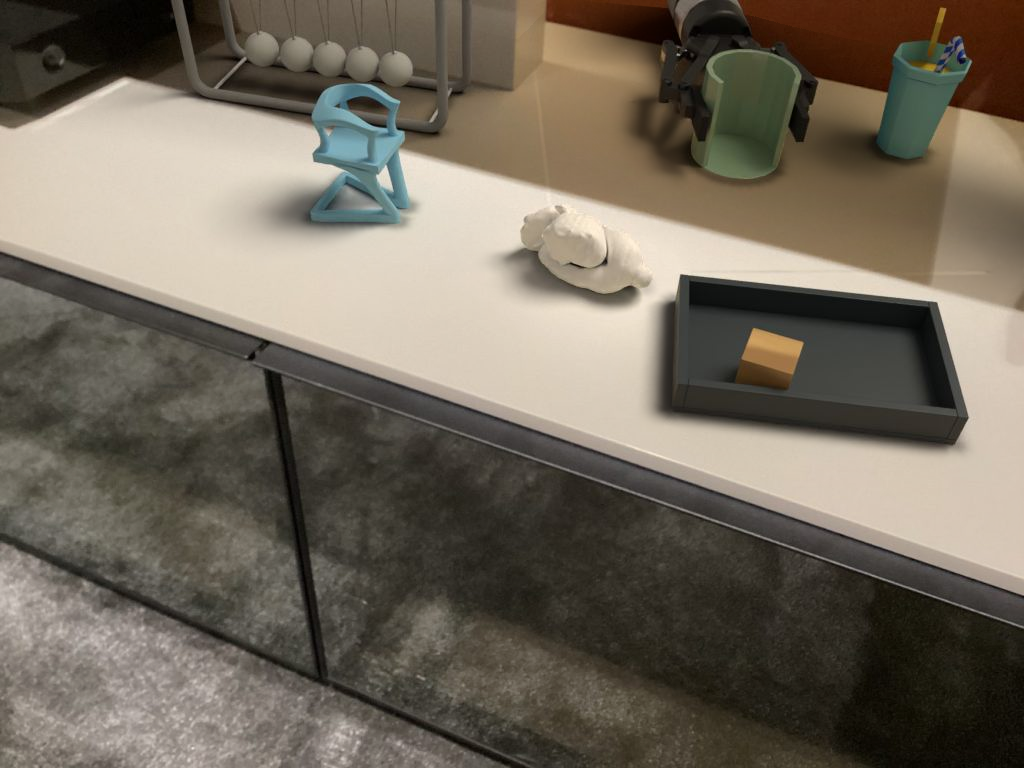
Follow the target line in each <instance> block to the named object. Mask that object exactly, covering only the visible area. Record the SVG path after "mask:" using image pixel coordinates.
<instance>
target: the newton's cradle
mask: <svg viewBox="0 0 1024 768" xmlns="http://www.w3.org/2000/svg"><path fill="white" fill-rule="evenodd" d="M261 1H262V0H258V7H259V27H260V29H259V27H258V23H257V19H256V15H255V10H254V6H253V2H252V0H249V3H250V8H251V12H252V16H253V20H254V24H255V28H256V32H253V33H252V34H250V35H249V36H248V37H247V38H246V40H245V43H244V49H243V48H241V46H240V45H239V44H238V42H237V39H236V33H235V28H234V23H233V17H232V11H231V6H230V0H218V5H219V11H220V15H221V21H222V27H223V32H224V38H225V42H226V45H227V48H228V49H229V50H230V52H231V53H232V54H233V55H234V56H235V57H236V58H238V59H240V60H239V61H238V63H237V64H236V65H235V66H233V67H232V68H231V69H230V71H228V72H227V74H226V75H225V76H224V77H223V78H222V79H221V80H220V81H219V82H218V83H216V85H215V86H214V87H210V86H208V85H206V84H205V83H204V82H203V81H202V80H201V79H200V76H199V72H198V67H197V62H196V58H195V53H194V49H193V48H194V47H193V43H192V39H191V34H190V30H189V24H188V21H187V15H186V10H185V6H184V2H183V0H170V2H171V7H172V11H173V15H174V19H175V20H174V21H175V25H176V29H177V33H178V38H179V42H180V47H181V50H182V52H181V53H182V56H183V61H184V65H185V69H186V75H187V78H188V81H189V84H190V85H191V86H192V88H193V89H194V90H195V91H196V92H197V93H198V94H200V96H203V97H205V98H207V99H208V98H209V99H213V100H220V101H224V102H232V103H233V102H234V103H236V104H237V103H238V104H244V105H250V106H257V107H263V108H271V109H275V110H282V111H289V112H296V113H301V114H307V115H312V113H313V110H314V108H315V105H316V103H312V102H311V103H309V102H303V101H297V100H292V99H291V100H290V99H285V98H278V97H272V96H265V95H258V94H253V93H248V92H247V93H246V92H240V91H233V90H228V89H221V87H222V85H224V83H225V82H226V81H227V80H228V79H229V78H231V76H232V75H233V74H234V73H235V72H236V71H237V70H238V69H239V68H240V67H241V66H243V64H244V63H245V62H250V63H252V64H253V65H255V66H256V67H259V68H267V67H270V66H274V67H282V68H286V69H287V70H289V71H291V72H294V73H303V72H306V71H309V72H316V73H319V74H320V75H321V76H323V77H327V78H334V77H338V76H342V77H349V78H352V79H353V80H354V81H356V82H359V83H368V82H371V81H375V82H381V83H385V84H386V85H387V86H389V87H393V88H400V87H403V86H409V87H414V88H421V89H427V90H436V95H437V97H436V99H437V101H436V102H437V104H436V105H437V107H436V109H435V111H434V112H433V114H432V116H431V117H430V119H429V120H428V121H424V120H420V119H419V120H418V119H414V118H413V119H412V118H406V117H399V116H396V119H395V125H396V129H401V130H402V129H403V130H409V131H414V132H421V133H430V134H432V133H436V132H439V131H441V130H442V129H443V128H445V126H446V125H447V123H448V119H449V97H450V95H451V94H452V93H459V92H462V91H464V90H466V89H467V88H468V87H469V86H470V84H471V82H472V79H473V0H461V77H460V79H459V80H458V81H449V80H448V79H449V77H448V76H449V75H448V27H447V26H448V25H447V24H448V23H447V22H448V21H447V18H448V17H447V0H434V27H435V31H434V32H435V61H436V62H435V64H436V68H435V69H436V79H435V78H428V77H421V76H414V75H413V70H414V67H413V63H412V60H411V59H410V58H409V57H408V56H407V54H405V53H403V52H401V51H397V45H398V43H397V42H398V41H397V38H398V37H397V36H398V33H397V31H398V28H397V27H398V21H397V20H398V0H395V1H394V4H395V5H394V39H393V34H392V26H391V20H390V19H391V18H390V12H389V5H388V0H385V7H386V14H387V22H388V29H389V36H390V43H391V50H392V51H389V52H387V53H385V54H384V55H383V56H382V57H381V58H380V59H379V56H378V55H377V53H376V52H375V51H374V50H373V49H372V48H370V47H368V46H364V18H363V17H364V13H363V11H364V10H363V9H364V7H363V0H360V23H361V24H360V27H361V28H360V30H361V31H360V33H361V35H359V31H358V24H357V19H356V12H355V6H354V1H353V0H350V3H351V10H352V15H353V20H354V27H355V32H356V38H357V44H358V46H356V47H354V48H352V49H350V51H349V52H348V53H346V51H345V50H344V48H343V47H342V46H341V45H339V43H337V42H333V41H331V31H330V1H329V0H326V5H327V7H326V8H327V9H326V10H327V35H328V36H327V35H326V30H325V29H326V28H325V25H324V20H323V14H322V10H321V6H320V5H321V4H320V1H319V0H316V2H317V8H318V12H319V17H320V21H321V26H322V31H323V36H324V41H323V42H321V43H320V44H318V45H317V46H316V47H315V48H313V45H312V44H311V43H310V42H309V41H308V40H307V39H305V38H303V37H300V36H298V27H297V26H298V25H297V23H298V22H297V7H296V0H293V8H294V9H293V10H294V12H293V13H294V29H295V30H293V27H292V26H293V25H292V23H291V17H290V14H289V9H288V4H287V1H286V0H283V2H284V6H285V11H286V16H287V19H288V24H289V28H290V32H291V36H292V37H289V38H287V39H286V40H285V41H284V42H283V43H282V44H281V47H279V43H278V41H277V40H276V38H275V37H274V36H273V35H272V34H270V33H268V32H265V31H263V27H262V26H263V25H262V23H263V22H262V2H261ZM294 31H295V32H294ZM294 33H295V35H294ZM359 36H361V42H360V37H359ZM393 40H394V41H393ZM349 112H351V113H352V114H354V115H356V116H357V117H359V118H360V119H362V120H363V121H365V122H366V123H368V124H370V125H376V126H382V127H387V119H388V116H389V115H388V114H380V113H375V112H374V113H373V112H367V111H360V110H355V109H349Z"/></svg>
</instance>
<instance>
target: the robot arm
mask: <svg viewBox="0 0 1024 768" xmlns="http://www.w3.org/2000/svg"><path fill="white" fill-rule="evenodd" d="M667 3H668V6H669V7H668V6H667V7H668V10H669V12H670V15H671V17H672V21H673V23H674V25H675V28H676V31H677V35H678V37H679V39H680V43H681V46H680V45H678V44H675V42H674V41H673V40H671V39H665V40H663V41H662V45H661V52H660V58H659V65H660V66H661V68H662V71H661V74H660V75H661V76H660V82H659V88H658V96H657V102H658V103H659V104H663V105H664V104H665V105H666V104H668V103H670V101H671V102H674V103H675V104H674V110H673V111H674V112H675V113H677V114H680V116H681V118H683V119H690V123H691V124H692V128H693V132H694V131H695V134H696V137H697V141H698V142H705V140H706V135H707V130H708V125H709V119H710V116H709V113H708V110H707V107H706V104H705V101H704V99H703V96H702V93H701V91H702V89H701V87H702V86H703V80H704V75H705V70H706V65H707V63H708V61H709V59H710V58H711V57H713V56H715V55H716V54H718V53H721V52H724V51H729V50H734V49H735V50H736V49H752V50H758V51H763V52H769V53H770V54H771V53H773V54H775V55H778V56H780V57H783V58H785V59H786V60H788V61H790V62H791V63H792V64H794V65H795V66H796V67H797V68H798V69H799V71H800V73H801V75H802V78H801V82H800V86H799V89H798V93H797V97H796V101H795V104H794V108H793V112H792V116H791V119H790V123H789V127H788V129H789V130H790V133H791V135H792V137H793V139H794V141H795V143H804V141H805V138H806V136H807V130H808V127H809V124H810V120H811V116H810V115H809V110H810V106H812V105H813V104H814V101H815V98H816V94H817V90H818V86H819V83H820V82H819V80H818V79H817V78H816V77H815V76H814V75H813V74H811V72H810V71H808V69H807V68H806V67H804V66H803V64H801V62H800V61H798V60H797V59H796V57H794V56H793V55H792V54H791V53H790V52H789V51H788V48H787V44H786V43H785V42H783V41H776V42H774V45H773V46H771V47H770V48H769V47H761V44H760V43H759V42H757V41H755V40H754V38H753V34H752V30H751V27H750V24H749V23H748V19H747V18H746V16H745V14H744V12H743V8H742V6H741V5H740V3H739V1H738V0H667ZM682 60H683V61H684V62H686V63H687V64H689V65H690V66H689V68H688V69H687V71H686V72H685V73H684V75H682V77H681V78H680V80H679V81H678V82H674V77H675V72H676V69H677V68H678V64H680V63H681V62H682Z"/></svg>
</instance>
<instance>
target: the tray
mask: <svg viewBox="0 0 1024 768" xmlns="http://www.w3.org/2000/svg"><path fill="white" fill-rule="evenodd" d="M673 319H674V323H673V325H674V326H673V353H672V354H673V355H672V356H673V357H672V359H673V360H672V365H673V366H672V389H671V390H672V393H671V411H673V412H680V413H688V414H697V415H706V416H713V417H722V418H732V419H738V420H748V421H755V422H764V423H772V424H780V425H788V426H798V427H805V428H812V429H813V428H814V429H823V430H831V431H837V432H838V431H839V432H847V433H856V434H864V435H872V436H881V437H889V438H897V439H906V440H915V441H923V442H931V443H939V444H947V445H956V443H957V441H958V439H959V437H960V435H961V434H962V432H963V430H964V428H965V426H966V425H967V422H968V420H969V419H970V416H969V413H968V409H967V405H966V402H965V398H964V394H963V391H962V388H961V387H962V386H961V384H960V380H959V377H958V373H957V369H956V366H955V365H956V364H955V361H954V358H953V354H952V351H951V347H950V344H949V340H948V335H947V333H946V329H945V325H944V322H943V318H942V315H941V311H940V307H939V304H938V302H937V301H933V300H932V301H931V300H923V299H922V300H921V299H913V298H903V297H896V296H885V295H875V294H868V293H859V292H858V293H857V292H849V291H838V290H829V289H822V288H821V289H820V288H811V287H803V286H793V285H786V284H785V285H783V284H774V283H765V282H757V281H749V280H748V281H747V280H737V279H728V278H719V277H710V276H700V275H691V274H682V273H680V274H679V278H678V284H677V288H676V295H675V300H674V318H673ZM753 328H756V329H759V330H763V331H766V332H770V333H773V334H776V335H780V336H783V337H787V338H790V339H794V340H797V341H801V342H804V344H803V347H802V350H801V353H800V356H799V359H798V362H797V365H796V368H795V371H794V374H793V377H792V380H791V383H790V386H789V389H788V390H787V389H779V388H770V387H761V386H753V385H744V384H736V383H735V379H736V376H737V372H738V368H739V365H740V361H741V358H742V355H743V353H744V350H745V348H746V345H747V342H748V340H749V337H750V335H751V332H752V330H753Z"/></svg>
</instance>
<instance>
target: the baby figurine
mask: <svg viewBox="0 0 1024 768" xmlns="http://www.w3.org/2000/svg"><path fill="white" fill-rule="evenodd" d="M523 223H524V224H523V225H522V227H521V228H520V230H519V232H520V241H521V243H522V244H523V245H524V247H525V248H526V249H527V250H530V251H532V252H533V251H534V252H538V255H537V256H538V260H539V261H540V262H541V264H542V265H543V266H545V268H546V269H548V271H549V272H550V273H551V274H552V275H554V276H555V277H556V278H557V279H560V280H562V281H564V282H566V283H567V284H570V285H572V286H575V287H577V288H581V289H587V290H590V291H592V292H595V293H597V294H603V295H605V294H606V295H607V294H613V293H616V292H618V291H621V290H623V289H624V288H626V287H628V286H632V287H634V288H636V289H645V288H648V287H649V286H650V285H651V283H652V282H653V272H652V270H650V268H649V267H647V266H646V265H645V263H644V258H643V249H642V246H641V244H639V242H638V241H637V240H636V239H635V238H634V237H633V236H632V235H630V234H628V233H626V232H624V231H622V230H621V229H617V228H615V227H611V226H609V225H605V224H603V225H602V224H601V223H600V222H599V221H598V220H597V219H596V218H594V217H593V216H591V215H589V214H585V213H581V212H580V213H579V211H577V210H576V209H575V208H574V207H572V206H571V205H570V204H567V203H563V204H556V205H555V206H553V205H551V206H550V205H549V206H546V207H544V208H542V209H539V210H537V211H536V212H533V213H530V214H527V215H525V216H524V217H523ZM605 260H606V261H607V263H606V264H603V262H604V261H605ZM571 263H572V264H571ZM574 264H575V265H574ZM577 265H578V266H577ZM579 266H580V267H579Z"/></svg>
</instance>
